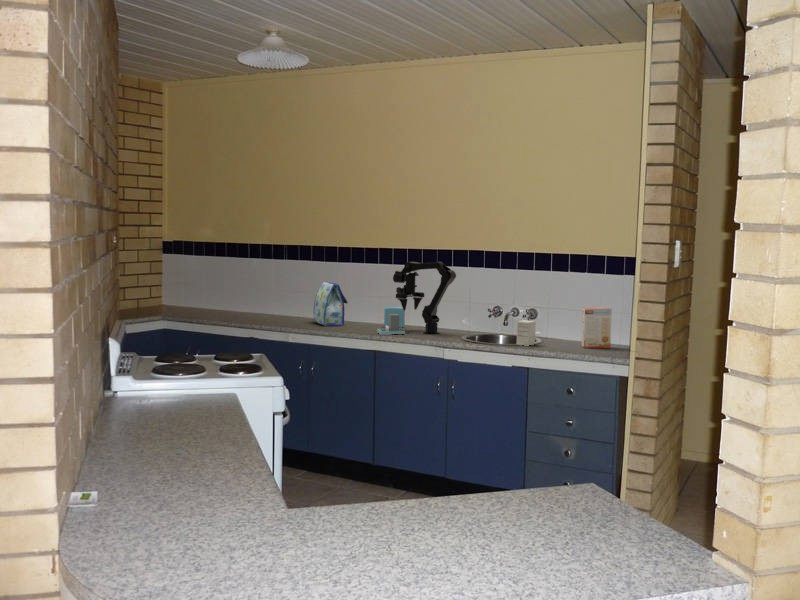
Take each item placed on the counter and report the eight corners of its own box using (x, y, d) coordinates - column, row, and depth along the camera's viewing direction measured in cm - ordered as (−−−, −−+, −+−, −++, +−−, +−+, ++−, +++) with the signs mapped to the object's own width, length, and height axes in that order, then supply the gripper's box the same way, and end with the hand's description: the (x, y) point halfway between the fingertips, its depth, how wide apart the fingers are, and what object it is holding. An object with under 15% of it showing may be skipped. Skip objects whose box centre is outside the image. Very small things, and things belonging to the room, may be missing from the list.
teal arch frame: (403, 326, 486) (404, 307, 485) (404, 327, 482) (404, 308, 481) (384, 326, 485) (384, 307, 484) (384, 327, 481) (385, 308, 480)
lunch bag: (348, 325, 487) (349, 283, 484) (323, 326, 479) (323, 283, 477) (335, 321, 506) (336, 280, 504) (311, 322, 499) (311, 281, 497)
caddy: (400, 332, 459) (400, 324, 459) (405, 334, 449) (405, 327, 448) (376, 332, 456) (376, 325, 456) (381, 335, 445) (381, 327, 445)
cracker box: (607, 346, 417) (608, 307, 415) (610, 348, 411) (612, 308, 409) (580, 346, 416) (582, 306, 414) (583, 348, 410) (585, 308, 408)
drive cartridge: (396, 331, 456) (397, 314, 455) (399, 332, 451) (399, 315, 450) (388, 331, 454) (388, 314, 454) (390, 332, 450) (390, 315, 449)
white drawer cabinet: (523, 343, 424) (523, 319, 423) (535, 344, 419) (536, 321, 418) (515, 344, 418) (516, 320, 417) (528, 346, 414) (528, 322, 412)
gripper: (411, 282, 475) (411, 307, 477) (389, 283, 462) (388, 309, 464) (425, 283, 468) (424, 309, 469) (402, 284, 455) (402, 311, 456)
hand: (409, 310), depth 465 cm, fingers open, 9 cm apart
